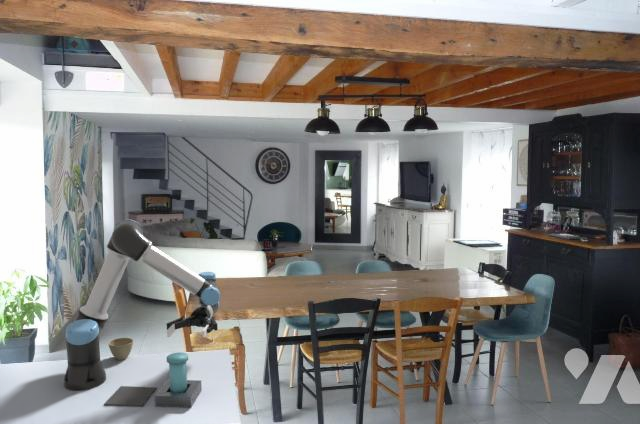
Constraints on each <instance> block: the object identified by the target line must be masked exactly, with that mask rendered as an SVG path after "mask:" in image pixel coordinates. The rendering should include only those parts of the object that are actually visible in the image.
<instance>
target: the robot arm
mask: <svg viewBox="0 0 640 424" xmlns="http://www.w3.org/2000/svg"><path fill="white" fill-rule="evenodd" d="M144 232H145V231H144V228H143V226H142V225H141V224H140V223H139V222H138V221H136V220H133V219H123V220H121V221H119V222H117V224H115V226H114V228H113V232H112V234H111V236H110V239H109V241H108V244H107V245H106V248H107V251H108V253H107V255H106V256H105V260H104V261H103V265H102V267H101V269H100V270H99V274H98V276H97V278H96V280H95V283H94V286H93V287H92V290H91V292H90V294H89V297H88V299H87V301H86V303H85V305H83V306H80V307H79V310H78V312H77V315H76V316H75V319H74V320H73V322H70V323H68V325H67V326H66V328H65V334H64V337H65V342H66V344H65V347H66V356H67V359H66V361H67V367H66V370H65V374H64V378H63V387H64V388H66V389H67V390H70V391H84V390H89V389H93V388H96V387H98V386H101V385H102V384H104V383H105V381H106V380H107V372H106V370H105V368H104V365H103V363H102V361H101V352H100V341H101V336H102V333H103V331H104V328H105V327H106V324H107V321H108V319H109V314H108V312H107V311H108V309H109V307H110V304H111V302H112V300H113V297H114V296H115V294H116V291H117V289H118V286H119V285H120V284H119V283H120V282H121V279H122V277H123V275H124V272H125V271H126V268H127V266H128V263H129V261H130V260H133V261H135V262H136V263H138V262H142V263H143V264H144V265H146V266H147V267H149V268H151V269H152V270H154V271H156V272H158V274H160V275H161V276H163V277H165V278H166V279H169V281H171V282H173V283H175V284H176V285H178V286H179V287H181V288H183V289H184V290H186V291H187V292H189V293H191V294H192V295H193V296H195V297H196V298H198V306H196V308H195V309H194V310H193V311H192V312H191V314H190V316H189V317H185V316H184V315H182V316H181V317H179V318H175V319H174V320H172V321H168V322H167V323H166V333H167V334H166V335H167V336H166V337H167V338H170V337H171V336H172V335H173V334H174V333H175V332H176V330H179V329H182V328H190V327H197V328H203V329H202V331H201V332H202V335H201V336H202V338H206V336H207V335H208V334H210V333H211V332H213V331H218V328H219V327H218V323H217V321H216V319H215V316H214V315H215V314H216V313H217V312H218V310H219V307H220V299H221V293H220V289H219V288H218V285H217V278H216V273H215V272H213V271H203V272H199V273H196V272H194V271H193V270H191V269H189V268H188V267H186V266H185V265H184V264H182V263H180V262H179V261H177V260H176V259H174V258H173V257H171V256H169V255H168V254H166V253H165V252H164V251H162V250H160V249H159V248H157V247H156V246H154V245H153V242H152V241H151V240H150V239H148V238H147V237H146V236H145V235H144V234H145V233H144Z"/></svg>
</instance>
